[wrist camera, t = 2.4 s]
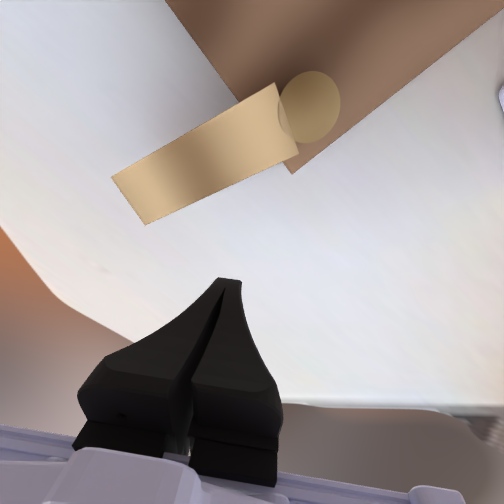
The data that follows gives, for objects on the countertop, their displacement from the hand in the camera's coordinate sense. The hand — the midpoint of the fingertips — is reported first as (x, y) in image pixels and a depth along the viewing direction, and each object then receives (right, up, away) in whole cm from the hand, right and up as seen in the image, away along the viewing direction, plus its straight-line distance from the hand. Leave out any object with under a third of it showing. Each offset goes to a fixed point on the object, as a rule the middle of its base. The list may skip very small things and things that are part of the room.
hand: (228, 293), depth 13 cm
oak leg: (0, +9, +2) cm, 9 cm away
